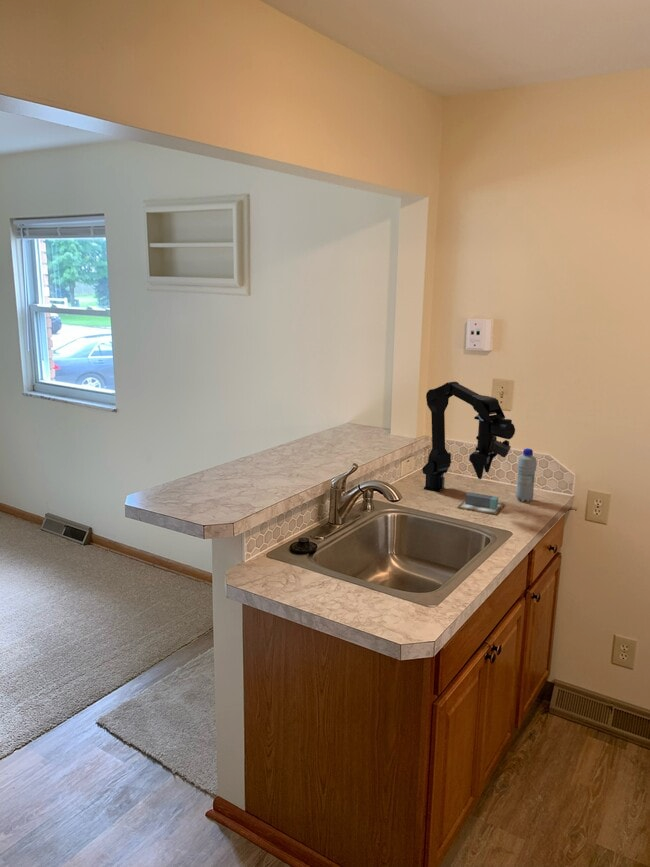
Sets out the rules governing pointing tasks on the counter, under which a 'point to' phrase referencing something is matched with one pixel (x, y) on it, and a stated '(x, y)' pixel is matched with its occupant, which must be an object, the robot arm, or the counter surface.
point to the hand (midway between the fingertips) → (483, 475)
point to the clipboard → (481, 508)
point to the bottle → (526, 476)
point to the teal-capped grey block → (481, 500)
